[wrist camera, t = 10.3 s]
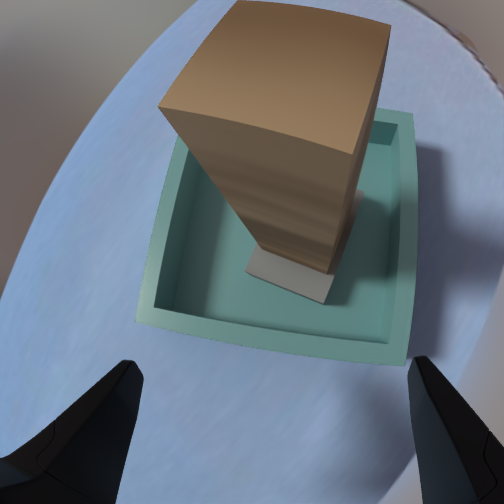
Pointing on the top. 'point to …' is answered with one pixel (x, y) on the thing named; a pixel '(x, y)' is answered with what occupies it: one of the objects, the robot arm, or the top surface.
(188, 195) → the tray
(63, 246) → the top surface
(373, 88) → the tall tan wooden block
